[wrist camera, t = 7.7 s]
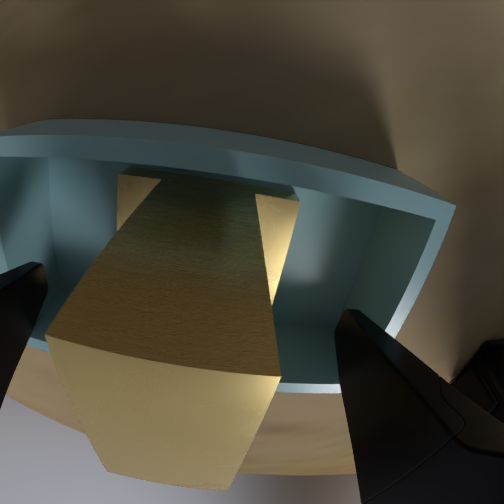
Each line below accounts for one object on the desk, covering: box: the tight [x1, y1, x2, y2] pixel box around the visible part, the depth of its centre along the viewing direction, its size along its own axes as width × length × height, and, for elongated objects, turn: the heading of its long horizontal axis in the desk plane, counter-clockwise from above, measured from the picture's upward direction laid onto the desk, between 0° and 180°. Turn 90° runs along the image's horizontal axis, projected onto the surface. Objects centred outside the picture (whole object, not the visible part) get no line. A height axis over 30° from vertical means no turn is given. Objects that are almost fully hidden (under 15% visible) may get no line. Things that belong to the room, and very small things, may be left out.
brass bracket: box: [45, 167, 301, 491], centre depth 8 cm, size 6×5×8 cm
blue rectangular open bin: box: [0, 119, 457, 393], centre depth 10 cm, size 14×8×4 cm, turn 79°
